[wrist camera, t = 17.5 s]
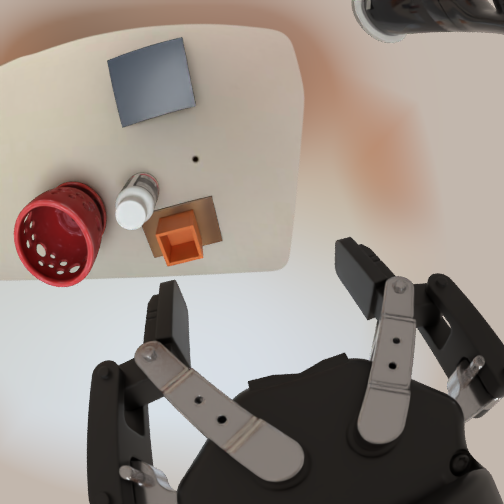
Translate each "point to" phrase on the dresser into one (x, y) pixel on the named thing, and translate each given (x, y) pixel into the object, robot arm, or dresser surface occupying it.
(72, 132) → the dresser surface
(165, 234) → the orange tub
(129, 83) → the blue tin
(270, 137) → the dresser surface
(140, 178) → the pill bottle
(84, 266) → the flower pot
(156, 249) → the cork mat
